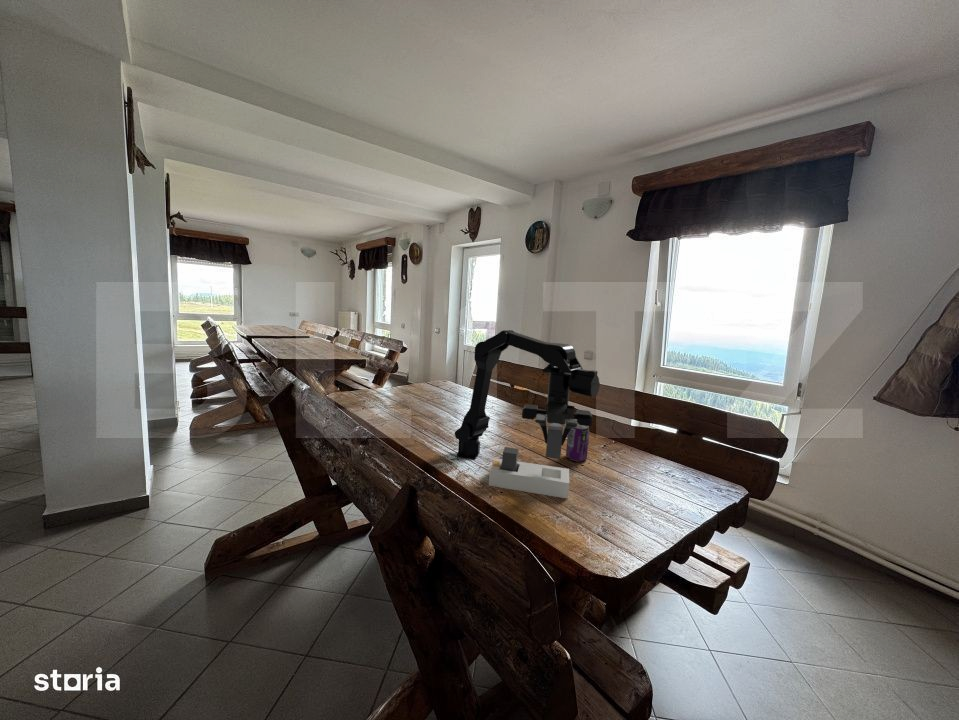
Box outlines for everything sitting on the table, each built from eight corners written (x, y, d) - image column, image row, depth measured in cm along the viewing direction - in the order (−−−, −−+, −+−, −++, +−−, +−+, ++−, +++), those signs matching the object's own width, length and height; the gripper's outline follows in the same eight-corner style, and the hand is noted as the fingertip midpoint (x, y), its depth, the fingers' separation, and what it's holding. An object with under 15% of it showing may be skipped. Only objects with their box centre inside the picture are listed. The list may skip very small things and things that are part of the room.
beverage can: (587, 464, 122) (591, 429, 120) (565, 461, 124) (569, 427, 122) (585, 455, 129) (589, 423, 127) (565, 453, 130) (568, 420, 129)
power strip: (488, 485, 104) (490, 453, 103) (494, 471, 113) (496, 442, 111) (567, 498, 99) (571, 465, 98) (567, 483, 108) (570, 452, 107)
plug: (545, 457, 102) (548, 426, 101) (546, 451, 106) (548, 422, 105) (560, 459, 101) (563, 428, 100) (560, 453, 105) (563, 423, 104)
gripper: (521, 393, 95) (517, 450, 97) (596, 400, 91) (590, 460, 93) (525, 384, 106) (522, 436, 108) (593, 391, 102) (587, 444, 104)
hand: (554, 444), depth 103 cm, fingers closed on plug, 4 cm apart
